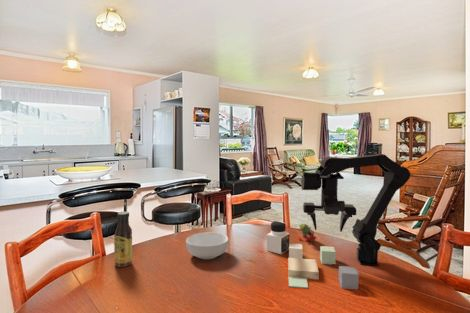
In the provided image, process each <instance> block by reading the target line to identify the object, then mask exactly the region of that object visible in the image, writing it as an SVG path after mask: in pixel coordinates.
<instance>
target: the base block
mask: <svg viewBox="0 0 470 313" xmlns="http://www.w3.org/2000/svg"><path fill="white" fill-rule="evenodd" d="M287 268H288V269H287V270H288V271H287V274H288V276H287V277H300V278H307V280H308V279H309V280H317V281H318V280H319V276H320V274H319V273H320V272H319V268H318V264H317V259H314V258H313V259H311V258H303V259H300V258H289V257H288V258H287Z"/></svg>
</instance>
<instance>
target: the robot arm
mask: <svg viewBox="0 0 470 313" xmlns="http://www.w3.org/2000/svg"><path fill="white" fill-rule="evenodd" d="M372 166H378V168H380V170H382V171H383V172H384V176H383V185H382V187H381V188H380V190H379V192H378V193H377V196H376V197H375V198H374V201H373V202H372V204H371V206H370V207H369V209H368V211H367V213H366V215H365V217H364V218H362V219H361V220H360V219H359V218H357V219H356V220H355V224H354V225H352V226H351V228H352V231H351V232H352V235H353V237H354V238H355V239H356V241H357V242H358V247H356V259H357V261H358V262H359V264H360V265H365V266H376V267H377V266H379V265H380V263H379V262H378V257H379V256H378V254H379V251H380V248H381V246H382V245H381V243H380V242H379V241H378V240H377V239H375V238H376V235H377V231H378V223H379V222H380V220H381V219H382V217H383V215H384V213H385V211H386V210H387V208H388V206H389V204H390V202H392V201H391V200H392V199H393V197H394V195H395V194H396V192H397V191H399V190H400V189H402V188H403V187H405V185H406V183H407V182H408V181H409V180H410V178H411V175H412V174H411V172H410V169H408V168H407V167H405V166H402V165H400V164H399V163H397V162H396V161H394V160H392V159H391V158H389V157H388V156H387V155H386V154H385V153H384V154H383V153H376V154H368V155H359V156H350V157H338V156H337V157H336V156H326V157H323V159H322V160H321V162H320V165H319V166H318V168H317V169H316V170H315V172H307V171H303V172H302V175H301V179H300V186H301V190H302V191H318V190H319V189H321V195H320V196H321V198H320V205H318V204H317V205H315V203H314V202H303V204H302V205H303V206H302V210H303V213H305V214H307V216H310V219H311V220H312V223H313V224H312V225H313V226H314V230H315V231H317V220H316V218H317V217H316V211H322V212H324V214H325V215H334V216H338V215H339V214H340V220H339V221H340V222H339V232H340V233H341V232H343V229H344V227H345V224H346V222H347V220H348V219H349V218H353V216H357V208H356V207H355V206H354V205H353V204H347V203H346V202H345V200H339V199H338V185H339V183H338V181H339V180H344V179H345V177H344V176H343V175H342V174H341V172H343V171H346V170H348V169H352V168H353V169H354V168H362V167H363V168H364V167H372ZM340 212H341V213H340Z"/></svg>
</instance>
